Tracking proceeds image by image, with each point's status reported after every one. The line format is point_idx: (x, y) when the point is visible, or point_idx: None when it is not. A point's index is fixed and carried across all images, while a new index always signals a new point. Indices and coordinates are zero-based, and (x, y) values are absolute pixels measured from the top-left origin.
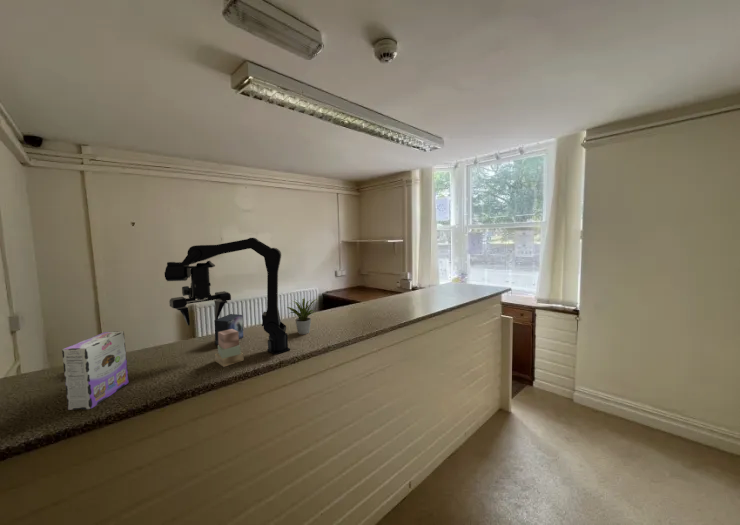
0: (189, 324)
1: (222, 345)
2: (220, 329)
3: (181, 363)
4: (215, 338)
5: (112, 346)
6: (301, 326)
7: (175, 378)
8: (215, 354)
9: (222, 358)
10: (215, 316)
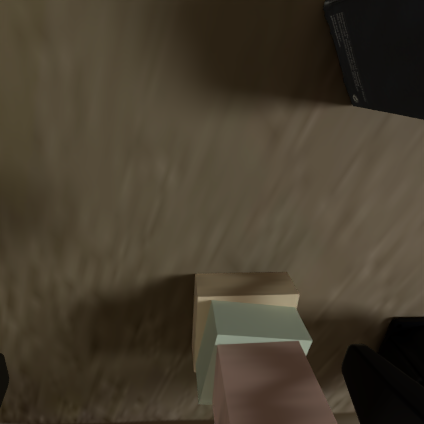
0: (1, 398)
1: (215, 400)
2: (421, 52)
3: (56, 179)
4: (349, 3)
5: None
6: None
7: (9, 325)
8: (197, 300)
9: (196, 365)
10: (374, 395)
